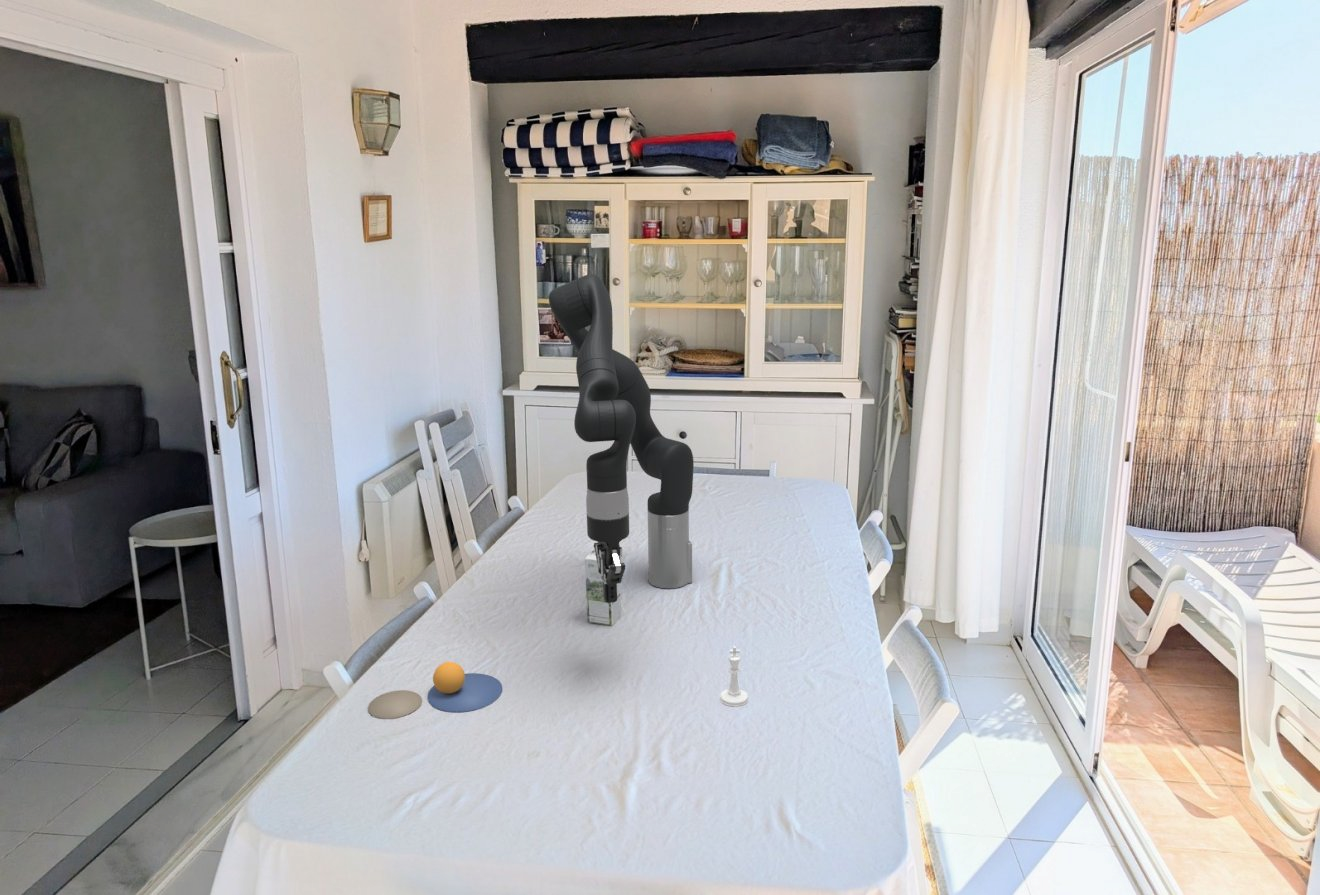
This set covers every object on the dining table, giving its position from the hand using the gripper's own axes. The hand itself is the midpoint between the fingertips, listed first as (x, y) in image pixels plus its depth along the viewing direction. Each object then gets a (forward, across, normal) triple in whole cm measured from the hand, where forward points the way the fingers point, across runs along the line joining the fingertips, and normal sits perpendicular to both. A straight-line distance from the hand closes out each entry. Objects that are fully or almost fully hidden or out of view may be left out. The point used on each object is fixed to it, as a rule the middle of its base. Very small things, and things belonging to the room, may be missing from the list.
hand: (610, 600), depth 167 cm
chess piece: (+14, -18, -17) cm, 28 cm away
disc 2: (+13, 0, +27) cm, 30 cm away
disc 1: (+13, 0, +39) cm, 41 cm away
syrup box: (+14, +20, -4) cm, 25 cm away
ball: (+11, +1, +30) cm, 32 cm away
